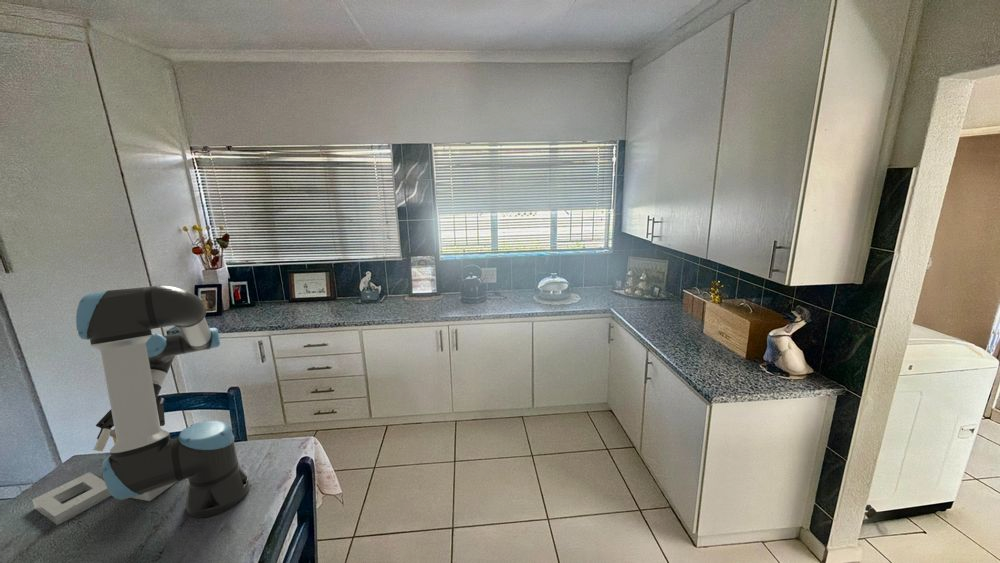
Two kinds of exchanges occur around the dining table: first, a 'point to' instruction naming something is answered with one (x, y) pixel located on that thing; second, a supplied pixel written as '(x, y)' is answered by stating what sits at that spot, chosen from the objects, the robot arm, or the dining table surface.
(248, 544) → the dining table surface
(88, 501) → the housing
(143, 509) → the dining table surface
